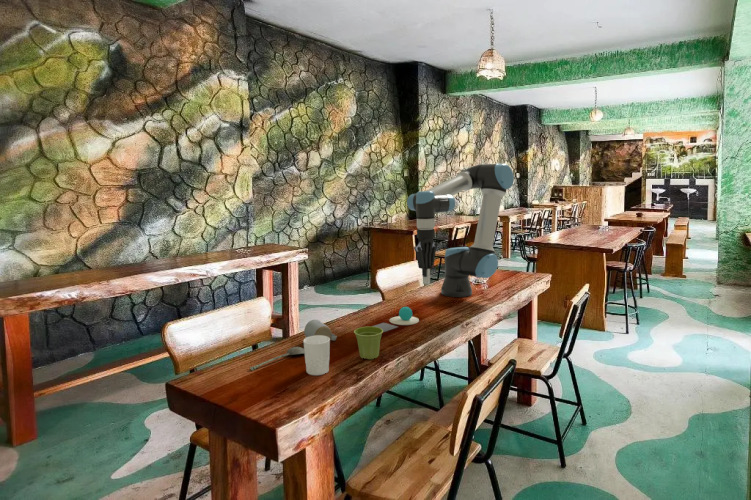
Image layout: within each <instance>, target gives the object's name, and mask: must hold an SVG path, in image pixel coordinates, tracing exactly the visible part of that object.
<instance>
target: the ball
mask: <svg viewBox="0 0 751 500" xmlns="http://www.w3.org/2000/svg"><path fill="white" fill-rule="evenodd" d="M398 316H400V318H401V319H403V320H409V319H410V318H411V317H413V310H412V309H411V308H410V307H409V306H403V307H401V308H400V309H399V310H398Z"/></svg>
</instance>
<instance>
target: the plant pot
mask: <svg viewBox="0 0 751 500" xmlns="http://www.w3.org/2000/svg"><path fill="white" fill-rule="evenodd" d="M353 333H354V335H355V338H356V341H357V346H358V352H359V353H358V354H359V357H360V358H361V359H363V358H364V360H365V359H367V360H375V359H377V358H378V357H379V356H380V345H381V338H382V336H383V335H382V334H383V333H384V332H383V330H382V329H381V328H378V327H372V326H362V327H361V326H360V327H358V328H355V329H354V330H353ZM374 358H375V359H374Z"/></svg>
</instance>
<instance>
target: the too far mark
mask: <svg viewBox="0 0 751 500" xmlns="http://www.w3.org/2000/svg"><path fill="white" fill-rule="evenodd" d="M371 327H378V328H381V329H382V330H383V333H386V332H389V331H392V330H394V329H397V328H399V325H398V326H397V325H395V324H392V323H387V322H381V323H378V324H375V325H372V326H371Z"/></svg>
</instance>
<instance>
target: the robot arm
mask: <svg viewBox="0 0 751 500" xmlns="http://www.w3.org/2000/svg"><path fill="white" fill-rule="evenodd" d="M514 177H515V176H514V172H513V170H512V168H511V166H510V165H508V164H506V163H486V164H483V163H482V164H476V165H474V166H471V167H468V168H466V169H464V170H462V171H460V172H458V173H457V174H456V176H454V177H452V178H449V179H448V180H446V181H443V182H441V183H440V184H436V185H435V186H433V187H431V188H428V189H427V190H422V191H421V190H420V191H417V192H416V193H412V194H410V195H409V196H408V197H407V199H406V200H407V201H406V203H407V204H406V206H407V207H408V209H409V210H410V211H415V213H416V228H417V229H416V238H417V239H418V242H417V245H416V246H414V247H413V249H414V251H415V254H416V260H417V261H416V262H417V267H418V269H421V273H422V275H421V276H422V284H423V285H430V284H431V269H433V267H434V266H435V258H436V250H437V247H438V243H436V242H435V241H434V238H435V237H436V230H435V228H436V227H435V226H436V222H435V220H436V219H435V214H438V213H439V214H441V213H448V212H451V211H453V210H454V209H455V207H456V200H455V197H454V196H455V195H457V194H459V193H461V192H467V191H470V190H475V189H480V192H481V193H482V199H481V205H480V211H479V215H478V221H477V226H476V231H475V237H474V241H473V243H472V245H471V246H469V247H468V246H459V247H458V246H457V247H450V248H449V247H448V248H446V249H445V251H444V280H443V283H442V285H441V289H440V291H441V292H440V293H441V295H443V296H444V297H445V296H446V297H452V298H453V297H454V298H465V297H470V296H472V295H473V288H472V285H471V282H470V279H469V276H471V277H477V278H480V279H481V278H482V279H488V278H491V277H492V276H493V275H494V274H495V273H496V272H497V269H498V265H499V260H498V256H497V255H496V250H495V249H494V247H493V246H494V240H495V237H496V236H495V235H496V230H497V223H498V221H499V220H498V218H499V214H500V213H499V212H500V209H501V203H502V198H503V197H504V196H505V195H507V190H509V189H510V188H512V187H513V185H514V179H515V178H514Z"/></svg>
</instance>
